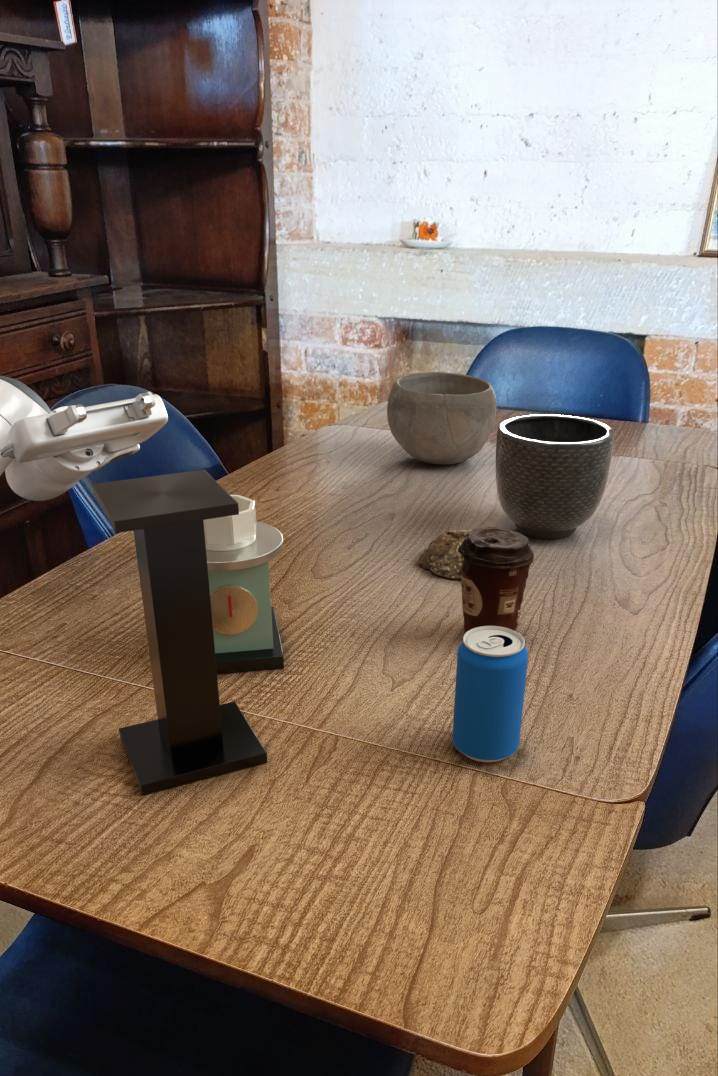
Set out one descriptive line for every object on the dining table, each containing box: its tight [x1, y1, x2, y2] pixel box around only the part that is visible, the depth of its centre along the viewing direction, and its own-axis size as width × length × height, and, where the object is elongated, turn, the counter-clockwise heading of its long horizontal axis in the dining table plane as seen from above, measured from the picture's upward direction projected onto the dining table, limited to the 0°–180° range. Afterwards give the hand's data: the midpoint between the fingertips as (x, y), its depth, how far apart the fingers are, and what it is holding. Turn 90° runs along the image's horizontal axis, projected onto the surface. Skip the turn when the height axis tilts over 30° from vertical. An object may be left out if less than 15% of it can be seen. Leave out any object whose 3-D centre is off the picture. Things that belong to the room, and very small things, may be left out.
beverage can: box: [451, 626, 529, 763], centre depth 83 cm, size 6×6×12 cm
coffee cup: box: [458, 526, 535, 636], centre depth 103 cm, size 9×8×13 cm
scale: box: [206, 520, 285, 675], centre depth 101 cm, size 13×13×14 cm
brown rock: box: [417, 529, 472, 581], centre depth 124 cm, size 13×12×5 cm
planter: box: [495, 414, 616, 540], centre depth 134 cm, size 17×17×16 cm
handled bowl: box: [203, 494, 257, 551], centre depth 100 cm, size 17×7×4 cm, turn 46°
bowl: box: [386, 371, 498, 465], centre depth 168 cm, size 21×21×15 cm
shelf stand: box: [91, 469, 268, 796], centre depth 79 cm, size 10×12×26 cm
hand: (114, 404), depth 104 cm, fingers open, 8 cm apart
